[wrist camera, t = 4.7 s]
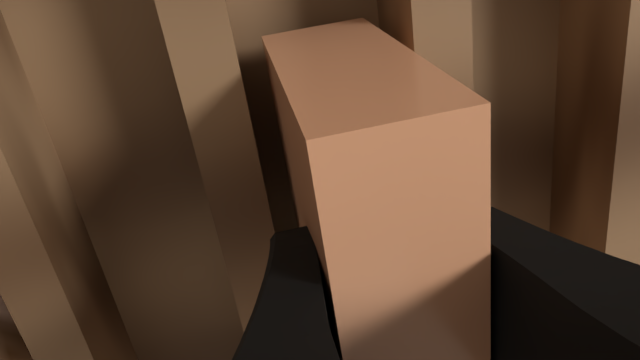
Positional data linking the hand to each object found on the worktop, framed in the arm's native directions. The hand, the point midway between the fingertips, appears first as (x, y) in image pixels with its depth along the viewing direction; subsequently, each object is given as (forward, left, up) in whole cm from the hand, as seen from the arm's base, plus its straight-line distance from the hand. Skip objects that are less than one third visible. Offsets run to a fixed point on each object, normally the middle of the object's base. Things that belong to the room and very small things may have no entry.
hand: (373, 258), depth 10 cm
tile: (0, 0, -3) cm, 4 cm away
